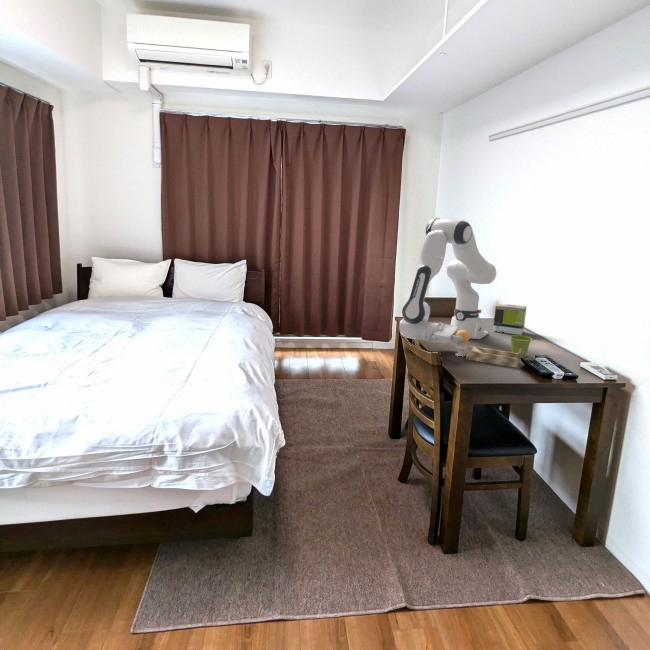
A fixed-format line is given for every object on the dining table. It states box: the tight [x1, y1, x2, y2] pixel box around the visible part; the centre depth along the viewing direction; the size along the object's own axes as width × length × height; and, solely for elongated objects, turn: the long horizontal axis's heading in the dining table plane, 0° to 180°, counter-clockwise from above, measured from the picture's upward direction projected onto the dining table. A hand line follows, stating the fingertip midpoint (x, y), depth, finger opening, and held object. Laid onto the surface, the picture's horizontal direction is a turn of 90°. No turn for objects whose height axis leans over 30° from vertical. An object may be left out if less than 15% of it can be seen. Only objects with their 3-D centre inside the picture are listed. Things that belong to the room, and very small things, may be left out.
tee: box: [455, 342, 468, 358], centre depth 216 cm, size 4×4×5 cm
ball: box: [456, 330, 471, 344], centre depth 215 cm, size 6×6×6 cm
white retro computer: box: [492, 302, 527, 336], centre depth 262 cm, size 15×10×15 cm, turn 62°
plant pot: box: [509, 334, 533, 358], centre depth 219 cm, size 9×9×9 cm
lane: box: [465, 345, 522, 369], centre depth 210 cm, size 22×9×7 cm, turn 64°
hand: (464, 336), depth 215 cm, fingers closed on ball, 6 cm apart
